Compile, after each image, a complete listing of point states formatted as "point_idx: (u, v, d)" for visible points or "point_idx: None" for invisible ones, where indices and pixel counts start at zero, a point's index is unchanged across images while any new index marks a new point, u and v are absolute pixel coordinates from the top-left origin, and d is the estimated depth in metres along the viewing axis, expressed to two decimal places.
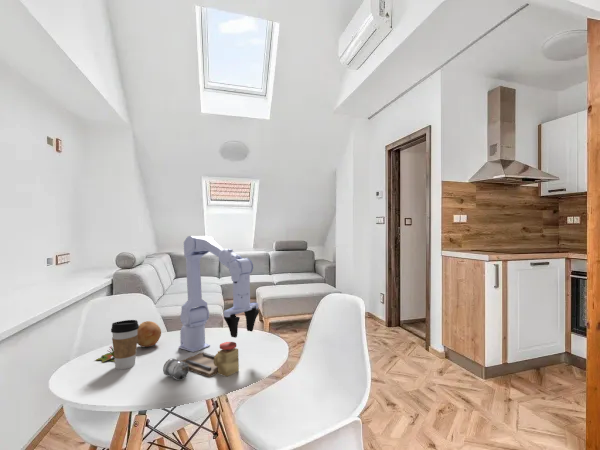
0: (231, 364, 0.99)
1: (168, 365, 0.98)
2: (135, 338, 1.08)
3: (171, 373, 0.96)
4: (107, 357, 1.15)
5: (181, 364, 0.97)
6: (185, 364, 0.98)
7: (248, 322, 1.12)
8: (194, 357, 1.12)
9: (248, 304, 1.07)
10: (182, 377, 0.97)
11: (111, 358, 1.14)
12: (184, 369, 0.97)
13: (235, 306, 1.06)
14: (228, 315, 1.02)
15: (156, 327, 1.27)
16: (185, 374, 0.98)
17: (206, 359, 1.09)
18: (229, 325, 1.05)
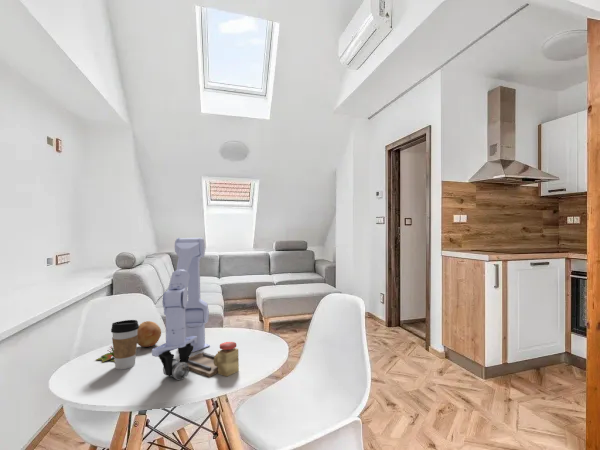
0: (231, 364, 0.99)
1: None
2: (135, 338, 1.08)
3: None
4: (107, 357, 1.15)
5: (181, 364, 0.97)
6: (185, 364, 0.98)
7: (181, 360, 1.01)
8: (194, 357, 1.12)
9: (182, 340, 0.98)
10: (182, 377, 0.97)
11: (111, 358, 1.14)
12: (184, 369, 0.97)
13: (167, 343, 0.97)
14: (156, 354, 0.92)
15: (156, 327, 1.27)
16: (185, 374, 0.98)
17: (206, 359, 1.09)
18: (163, 362, 0.97)
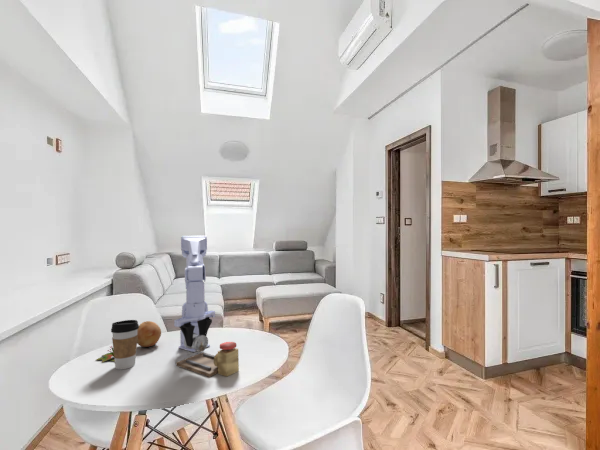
0: (231, 364, 0.99)
1: None
2: (135, 338, 1.08)
3: None
4: (107, 357, 1.15)
5: (202, 337, 1.03)
6: (205, 337, 1.04)
7: (200, 332, 1.07)
8: (194, 357, 1.12)
9: (202, 313, 1.03)
10: (201, 350, 1.02)
11: (111, 358, 1.15)
12: (203, 341, 1.03)
13: (188, 315, 1.02)
14: (178, 325, 0.98)
15: (156, 327, 1.27)
16: (204, 347, 1.03)
17: (206, 359, 1.09)
18: (184, 334, 1.02)
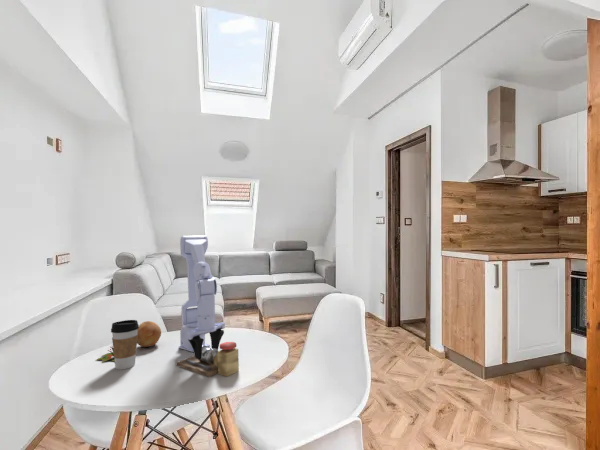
0: (231, 364, 0.99)
1: None
2: (135, 338, 1.08)
3: (203, 357, 1.05)
4: (108, 357, 1.16)
5: (213, 350, 1.06)
6: (216, 351, 1.07)
7: (213, 343, 1.10)
8: (194, 357, 1.12)
9: (212, 325, 1.06)
10: (212, 363, 1.05)
11: (112, 359, 1.15)
12: None
13: (199, 327, 1.05)
14: (190, 337, 1.01)
15: (156, 327, 1.27)
16: None
17: None
18: (193, 346, 1.04)
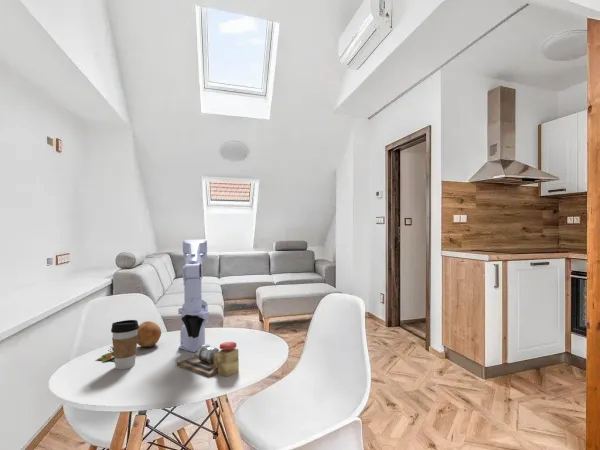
0: (231, 364, 0.99)
1: (202, 349, 1.07)
2: (135, 338, 1.08)
3: (204, 355, 1.05)
4: (108, 357, 1.16)
5: (215, 349, 1.06)
6: None
7: None
8: (194, 357, 1.12)
9: (187, 309, 1.09)
10: (212, 362, 1.05)
11: (112, 359, 1.15)
12: None
13: None
14: (178, 312, 1.15)
15: (156, 327, 1.27)
16: None
17: None
18: None
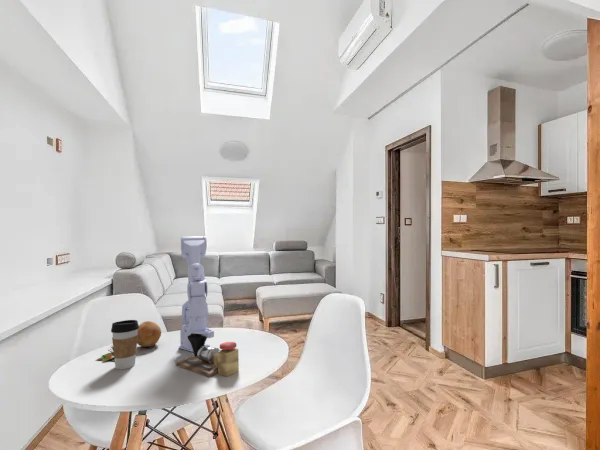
0: (231, 364, 0.99)
1: (203, 348, 1.08)
2: (135, 338, 1.08)
3: (205, 355, 1.05)
4: (108, 357, 1.16)
5: (216, 349, 1.06)
6: None
7: None
8: (194, 357, 1.12)
9: (191, 327, 1.07)
10: (212, 362, 1.05)
11: (112, 359, 1.15)
12: None
13: None
14: (183, 330, 1.13)
15: (156, 327, 1.27)
16: None
17: None
18: None
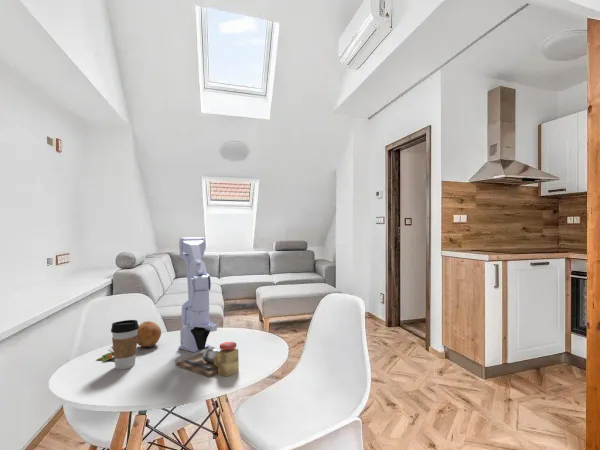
0: (231, 364, 0.99)
1: (209, 350, 1.06)
2: (135, 338, 1.08)
3: (211, 357, 1.04)
4: (108, 357, 1.16)
5: None
6: None
7: None
8: (194, 357, 1.12)
9: (194, 321, 1.09)
10: None
11: (112, 359, 1.15)
12: None
13: None
14: (186, 323, 1.15)
15: (156, 327, 1.27)
16: None
17: None
18: None
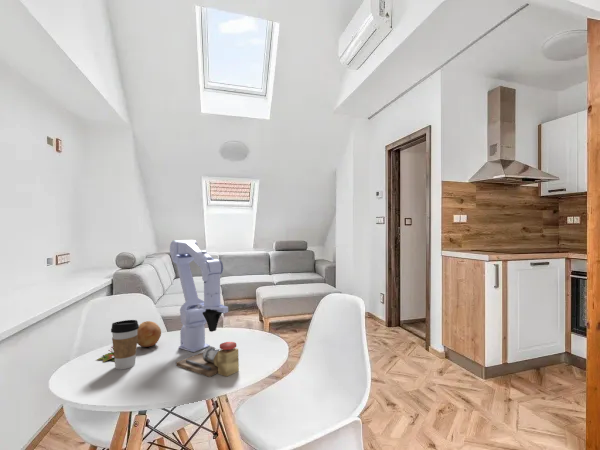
0: (231, 364, 0.99)
1: (209, 350, 1.06)
2: (135, 338, 1.08)
3: (211, 357, 1.04)
4: (108, 357, 1.16)
5: None
6: None
7: None
8: (194, 357, 1.12)
9: (206, 304, 1.12)
10: None
11: (112, 358, 1.15)
12: None
13: None
14: (198, 307, 1.18)
15: (156, 327, 1.27)
16: None
17: None
18: None
